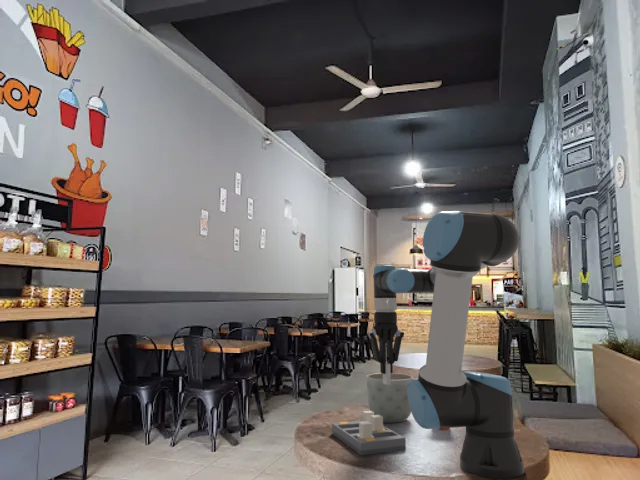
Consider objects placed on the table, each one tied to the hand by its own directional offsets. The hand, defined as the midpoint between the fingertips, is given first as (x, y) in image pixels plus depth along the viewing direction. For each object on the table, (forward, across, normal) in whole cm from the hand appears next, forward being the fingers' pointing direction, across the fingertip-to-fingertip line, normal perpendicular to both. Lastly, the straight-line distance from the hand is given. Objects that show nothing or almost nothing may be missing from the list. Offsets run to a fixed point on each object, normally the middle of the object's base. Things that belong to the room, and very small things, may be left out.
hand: (386, 383), depth 147 cm
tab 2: (+14, +14, +12) cm, 23 cm away
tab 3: (+14, +7, +6) cm, 17 cm away
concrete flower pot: (+16, -8, -14) cm, 22 cm away
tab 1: (+14, +7, 0) cm, 15 cm away
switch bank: (+15, +10, +6) cm, 20 cm away
